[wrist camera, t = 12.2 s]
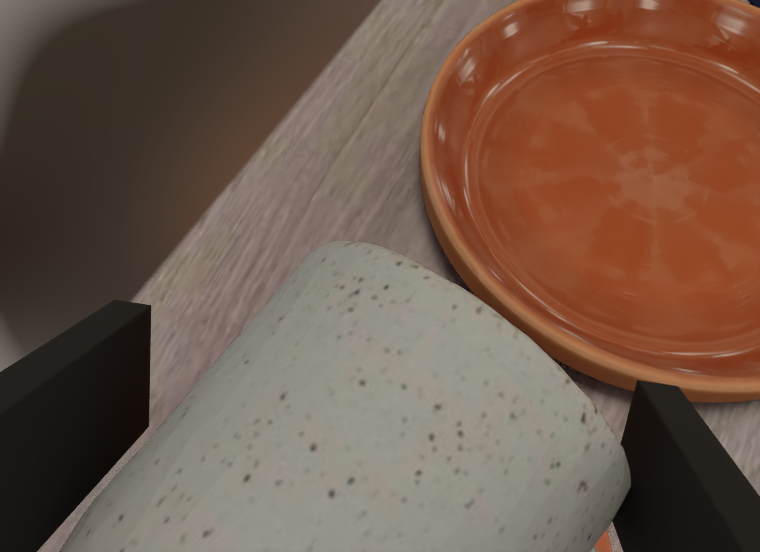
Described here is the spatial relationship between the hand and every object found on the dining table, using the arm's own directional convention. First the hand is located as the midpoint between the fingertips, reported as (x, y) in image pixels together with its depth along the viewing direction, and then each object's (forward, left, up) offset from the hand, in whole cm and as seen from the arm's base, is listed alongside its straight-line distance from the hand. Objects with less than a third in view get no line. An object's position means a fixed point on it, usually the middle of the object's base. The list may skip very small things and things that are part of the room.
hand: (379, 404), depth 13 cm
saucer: (-10, +18, -14) cm, 25 cm away
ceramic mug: (+3, -1, -4) cm, 5 cm away
